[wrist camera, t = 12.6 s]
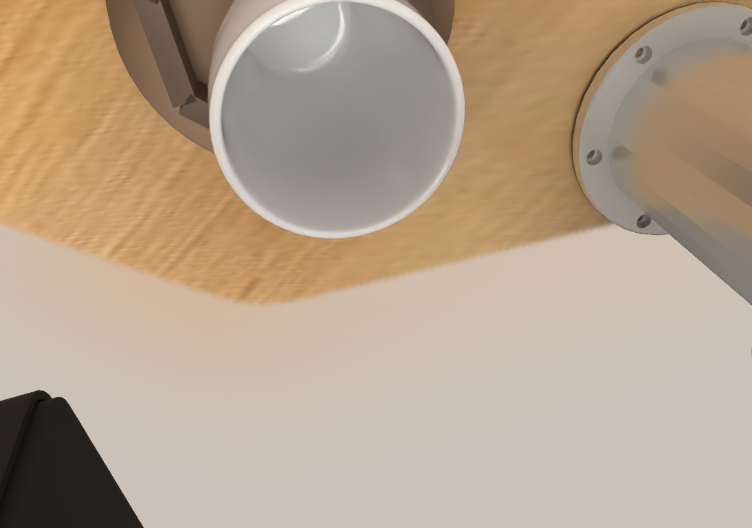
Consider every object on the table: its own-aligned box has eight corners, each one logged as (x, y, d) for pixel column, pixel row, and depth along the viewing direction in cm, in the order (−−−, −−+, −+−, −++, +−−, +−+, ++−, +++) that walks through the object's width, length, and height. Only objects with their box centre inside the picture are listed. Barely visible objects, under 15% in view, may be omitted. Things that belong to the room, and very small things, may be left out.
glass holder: (418, -238, 28) (441, -248, 25) (469, 117, 36) (491, 141, 33) (44, -146, 27) (22, -146, 24) (181, 195, 35) (177, 227, 32)
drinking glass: (306, 116, 33) (356, 284, 20) (181, 22, 30) (149, 150, 17) (400, 0, 31) (521, 104, 18) (278, -114, 28) (323, -82, 15)
